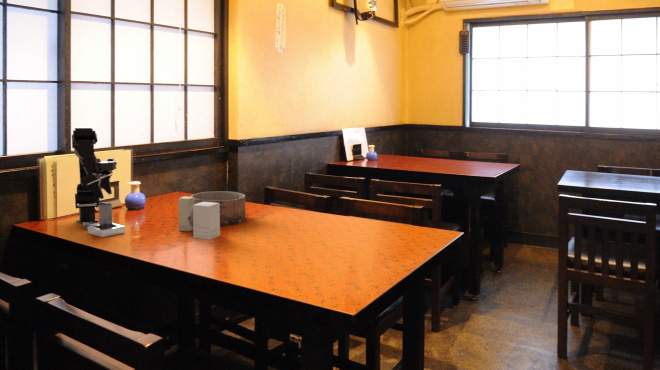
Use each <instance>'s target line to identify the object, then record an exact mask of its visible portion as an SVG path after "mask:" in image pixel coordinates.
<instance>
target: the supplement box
mask: <svg viewBox="0 0 660 370" xmlns="http://www.w3.org/2000/svg"><path fill="white" fill-rule="evenodd" d="M192 232H193V238H194V239H201V240H209V241H210V240H213V239H215V238H218V237H220V236H221V226H220V205H219V203H213V202H200V203H197V204H194V205H193V231H192Z"/></svg>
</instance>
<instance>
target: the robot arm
mask: <svg viewBox="0 0 660 370" xmlns="http://www.w3.org/2000/svg"><path fill="white" fill-rule="evenodd" d="M97 143H98V134H97V132H96V130H95V129H94V128H93V127H92V126H91V127H90V126H85V125H83V126H82V125H81V126H79V125H78V126H75V128H74V130H73V131H72V135H71V145H72V146H71V148H72V149H74V150H73V151H74V153H73V154H74V155H75V156H76V157H77V158H78V166H79V167H78V168H79V183H78V184H77V186H76V193H74V202H75V203H74V204H75V209H78V211H79V214H78V215H79V219H76V220H75V222H77V223H80V224H83V222H87V221H90V222H93V223H97V222H99V219H96V208H99V204H100V203H101V202H100V200H102V199H104V193H103V191H105V192H106V193H107V194H108V195H112V194H113V191H112V186H111V178H112V176H113V173H114V171H115V170H117V165H118V162H117V161H116V160H115V159H114V158H113V157H109V158H107V160H105V161H104V160H103V161H101V159H100V158H97V156H96V154H95V149H94V148H95V145H96V144H97Z"/></svg>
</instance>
